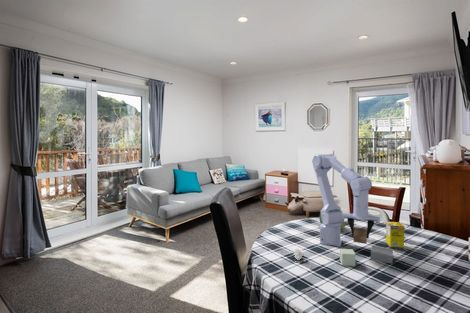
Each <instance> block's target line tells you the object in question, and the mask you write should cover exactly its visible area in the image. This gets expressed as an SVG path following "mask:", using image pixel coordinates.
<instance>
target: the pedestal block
mask: <svg viewBox="0 0 470 313" xmlns="http://www.w3.org/2000/svg"><path fill="white" fill-rule="evenodd" d="M393 257H394V248H390V247H388V248H387V247H383V246H377V245H371V250H370V261H371V260H372V261H377V262H381V263H386V264H391V265H393V260H394V259H393Z"/></svg>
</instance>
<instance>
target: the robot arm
mask: <svg viewBox="0 0 470 313" xmlns="http://www.w3.org/2000/svg"><path fill="white" fill-rule="evenodd" d="M311 163H312V166H313V170H314V174H315V178H316V181H317V184H318V188H319V191H320V196H321V200H322V203H323V207H322V209H321V210H320V212H321V220H322V222H323V224H321V223H320V227H319V244H322V245H328V246H333V247H334V246H335V247H341V246H342V241H343V240H342V239H341V230H342V229H341V225H342V223H343V222H344V221H345V220H347V224H348V226H349V228H350V231H351V236H352V237H354V227H355V220H356V221H358V220H359V221H365V222H366V221H367V223H366V224H367V225H366V226H367V239H370V238H369V237H370V233H371V231H372V228H374V225H375V222H376V223H380V222H381V217H380V216H375V215H369V191H370V190H371V189H372V186H373V185H372V184H373V182H372V180H371V179H370V178H369V177H368V176H362V174H360V173H358V172H357V171H355V169H354V168H353V167H346V166H345V165H344V164H343V163H342V162H341V161H339V160H338V159H337V156H336V155H334V154H333V153H329V154H327V153H326V154H323V153H322V154H315V155H314V156H313V157H312V161H311ZM331 169H334V170H335V171H336V172H338V173H340V177H341V178H342V179H343V180H344V181H345V182H347V184H349V186H350V188H351V190H352V195H353V207H352V208H353V212H352V213H348V212H347V213H343V211H342V208H341V207H340V206H339V205H337V203H336V201H335V199H334V198H335V197H334V195H333V191H332V188H331V187H332V186H331V184H330V180H329V177H328V172H329V171H330V170H331ZM328 211H332V212H328ZM344 223H345V222H344Z"/></svg>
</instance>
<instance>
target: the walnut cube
mask: <svg viewBox="0 0 470 313" xmlns="http://www.w3.org/2000/svg"><path fill="white" fill-rule="evenodd" d="M367 239H368V238H367V228H366V227H358V226H354V236H353V243H358V244H365V245H366V244H367V241H368V240H367Z"/></svg>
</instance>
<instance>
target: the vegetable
mask: <svg viewBox="0 0 470 313" xmlns="http://www.w3.org/2000/svg"><path fill="white" fill-rule="evenodd" d="M328 212H332V211H328ZM319 213H320V214H319V222H320V225H321V224H323V222H322V220H321V211H319ZM346 224H347V223H346V222H343V223H342V225H341V229H340V230H344V229H345V227H346Z"/></svg>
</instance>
